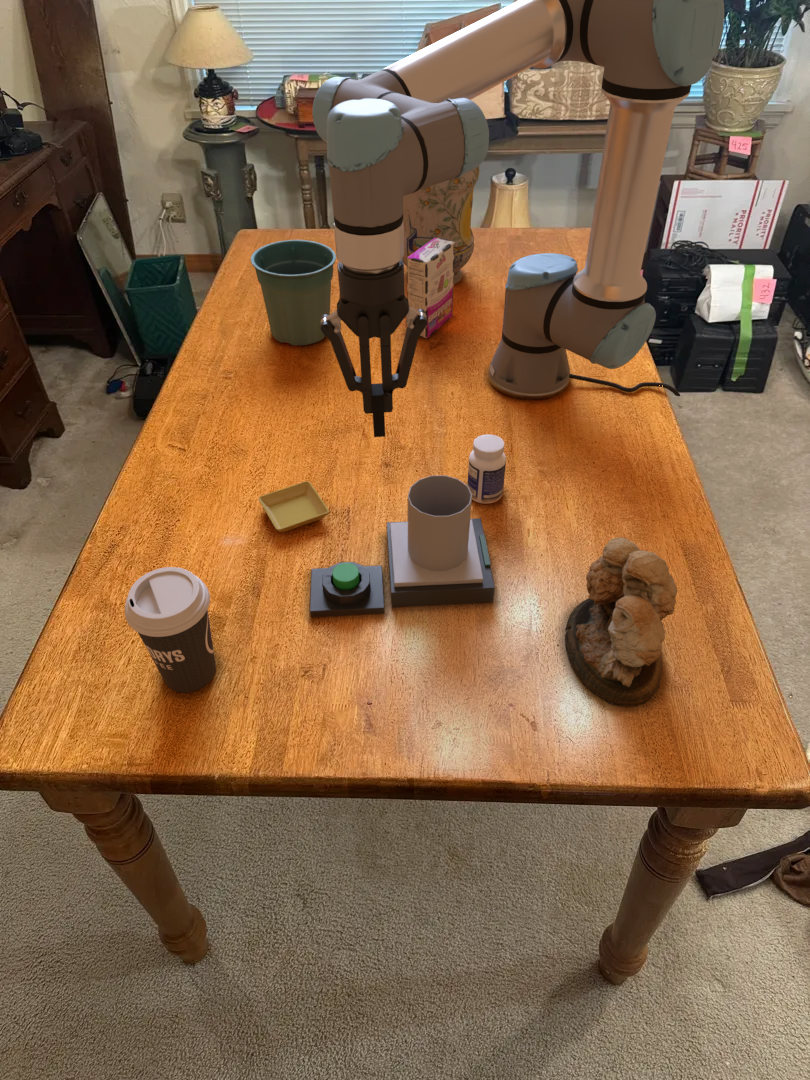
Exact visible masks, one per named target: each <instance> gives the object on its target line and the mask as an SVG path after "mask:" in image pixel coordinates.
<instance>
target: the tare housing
mask: <svg viewBox="0 0 810 1080" xmlns="http://www.w3.org/2000/svg"><path fill="white" fill-rule="evenodd" d="M342 563H351V564H354V565H355V566H356V567H357V568H358V570H359V584H358V585H357V586H356V587H355V588H353V589H351V590H340V589H338V588H336V587H335V585H334V583H333V575H332V572H333V569H334V568H335V567H336V566H337V565H339V564H342ZM383 576H384V575H383V565H363V564H360V563H358V562H355V561H340V562H337V563H335V564H333V565H330V566H329V567H318V568H317V567H316V568H311V570H310V597H309V616H310V618H318V617H341V616H357V615H358V616H359V615H360V616H361V615H379V614H385V596H384V595H385V593H384V580H383V578H384V577H383Z"/></svg>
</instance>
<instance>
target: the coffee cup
mask: <svg viewBox="0 0 810 1080" xmlns="http://www.w3.org/2000/svg"><path fill="white" fill-rule="evenodd" d="M210 603H211V594H210V590H209V588H208V587H207V585H206V584H205V582H204V581H203V580H202V579H201V578H200V577H198V575H196V574H194V573H193V572H192V571H190V570H188V569H185V568H182V567H179V566H178V567H177V566H176V567H175V566H166V567H165V566H164V567H160V568H156V569H153V570H151V571H149V572H146V573H144V574H143V575H142V576H140V577H139V578H138V579H136V580H135V582H134V583H133V584H132V586H131V587H130V589H129V591H128V594H127V596H126V600H125V604H124V617H125V620H126V623H127V624H128V626H129V627H130V628H131V629H132V630H133V631H134V632H137V634H138V636H139V637H140V639H141V641H142V643H143V644H144V647H145V648H146V650H147V652H148V654H149V655H150V658H151V659H152V661H153V663H154V664H155V667H156V668H157V670H158V672H159V675H160V676H161V677H162V679H163V681H164V683H165V685H166V686H167V687H168V688H169V689H171V690H172V691H174V692H177V693H181V694H185V693H186V694H187V693H193V692H197V691H199V690H201V689H203V688H204V687H206V686H207V685H208V684H210V682H212V680H213V678H214V677H215V675H216V672H217V671H216V670H217V665H216V658H215V657H216V656H215V650H214V649H215V648H214V643H213V638H212V637H213V636H212V630H211V623H210V622H211V621H210V616H209V615H210V614H209V606H210Z"/></svg>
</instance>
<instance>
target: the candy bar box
mask: <svg viewBox="0 0 810 1080" xmlns="http://www.w3.org/2000/svg"><path fill="white" fill-rule="evenodd" d="M454 243H455V242H452V241H448V240H444V239H440V238H433V239H432V240H431V241H429V242H428V243H427V244H425V245H424V246H422V247H421V248H420V249H418V250H417V251H415V252H414V253H413V254H411V255H410V256H408V257H407V266H406V283H407V284H406V287H407V289H406V290H407V291H406V292H407V299H408V302H409V306H410V307H412V308H414V309H416V310H419V309H423V310H424V311H425V313H426V318H427V326H426V327H425V329H424V330H423V332H422V333H421V334H420V336H419V338H424V339H428V338H430V337H431V336H432V335H433V334H434V333H436V331H437V330H439V329H440V328H442V326H443V325H445V324H446V323H447V322H448V321H449V320H450V319H452V318H453V316H454V315H453V313H454V311H453V310H454V284H453V277H454Z"/></svg>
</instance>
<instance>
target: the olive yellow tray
mask: <svg viewBox="0 0 810 1080" xmlns="http://www.w3.org/2000/svg"><path fill="white" fill-rule="evenodd" d="M258 501H259V503H260V505H261V506H262V508H263V510H264V511H265V513H266V514H267V516H268V518H269V520H270V521H271V524H272V526H273V527H274V529H275V530H276V531H277V532H280V533H286V532H289V531H291V530H294V529H297V528H300V527H302V526H306V525H308V524H311V523H314V522H316V521H319V520H322V519H323V518H325V517H326V516H327V515H328V514H330V510H329V508H328V506H327V505H326V503H325V502H324V500H323V499H322V498H321V496H320V494H319V493H318V491H317V490H316V489H315V487H314V486H313V484H312V483H311V481H308V480H305V481H301V482H299V483H296V484H293V485H290V486H287V487H284V488H281V489H277V490H275V491H271V492H269V493H266V494H263V495H259V497H258Z"/></svg>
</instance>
